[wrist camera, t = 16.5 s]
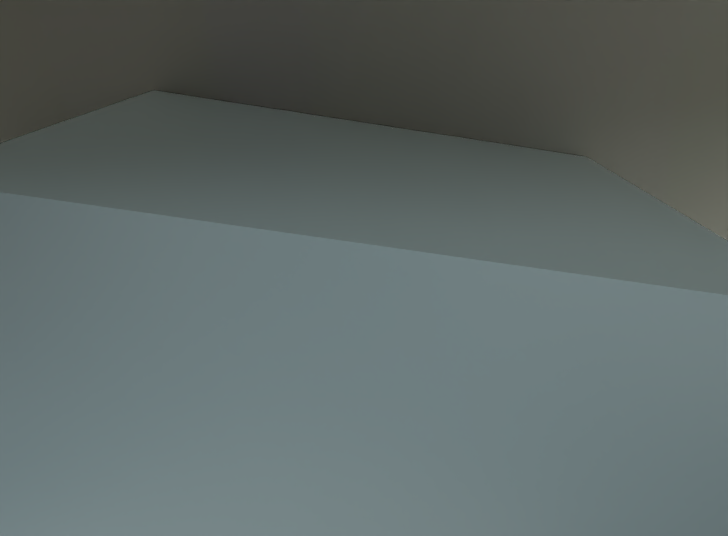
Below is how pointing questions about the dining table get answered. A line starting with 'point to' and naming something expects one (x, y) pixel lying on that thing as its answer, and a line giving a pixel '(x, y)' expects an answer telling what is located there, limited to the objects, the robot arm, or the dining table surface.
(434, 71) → the dining table surface
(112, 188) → the grey-blue flat-faced block
